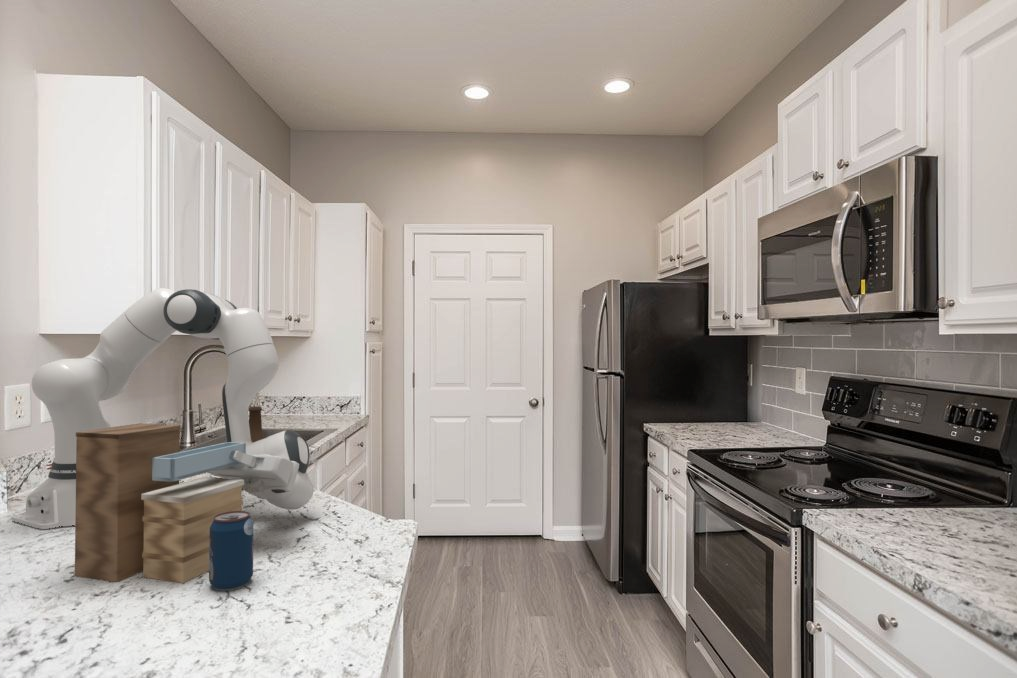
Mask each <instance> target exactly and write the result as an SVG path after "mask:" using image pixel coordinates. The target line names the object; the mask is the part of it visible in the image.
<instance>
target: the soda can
mask: <svg viewBox="0 0 1017 678" xmlns="http://www.w3.org/2000/svg"><path fill="white" fill-rule="evenodd" d="M250 515H251V514H250V512H249V511H245V510H242V511H230V512H225V513H221V514H218V515H216V516H214V518H213V519H214V520H213V522H212V524H211V526H210V538H209V571H208V582H209V584H210V585H211V587H212V588H213V589H214V590H215V591H221V592H226V591H235V590H238V589H242V588H243V587H245V586H247V585H248V584H249V582H250V581H251V579H252V577H253V575H254V521H253V519H252V517H251V516H250Z"/></svg>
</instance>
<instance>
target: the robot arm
mask: <svg viewBox="0 0 1017 678" xmlns="http://www.w3.org/2000/svg"><path fill="white" fill-rule="evenodd" d="M176 332H179V333H182V334H185V335H186V334H187V335H189V336H192V337H196V338H201V339H202V338H203V339H211V340H220V342H221V343H222V346H223V349H224V352H225V355H226V359H227V363H228V374H227V380H226V382H225V383H224V384H223V386H222V390H221V393H222V394H221V397H222V398H221V401H222V409H223V419H224V425H225V434H226V442H237V443H246V454H245V453H242V452H240V451H232V452H231V455H230V457H229V458H230V459H231V460H233V461H236V462H240V463H241V464H238V465H234V466H230V467H226V468H222V469H219V470H215V471H211V472H207V473H206V474H210V475H212V476H214V477H217V478H229V479H242V480H244V485H242V488H243V489H242V490H243V491H245V492H246V493H248V494H250V495H252V496H254V497H256V498H258V499H261V500H266V501H267V502H268V503H270V504H271V505H274V506H275V507H278V508H280V509H285V510H288V511H294V510H298V509H301V508H302V507H304V506H305V505H308V503H309V502H310V500H311V499H312V498H313V495H314V491H315V488H314V484H313V482H312V480H311V478H310V476H309V474H308V471H307V470H308V467H309V464H310V459H311V458H310V456H311V455H310V447H309V444H308V442H307V441H306V439H304V437H303V436H302V435H301V434H300V433H298V432H296V430H292V429H286V430H283V431H279V432H277V433H275V434H274V433H273V434H271V435H269V436H267V437H266V438H264V439H261V440H259V441H256V442H253V443H252V441H251V436H250V428H249V414H248V413H249V411H248V410H249V406H250V404H251V402H252V400H253V399H254V398H255V397H256V395H258V394H259V392H260V391H262V390H264V388H265V387H267V386H268V385H269V384H270V383H271V382H272V381H273V379H274V377H276V375H277V372H278V369H279V365H280V364H279V358H278V352H277V350H276V346H275V344H274V340H273V338H272V335H271V333H270V329H269V328H268V325H267V324H266V322H265V320H264V319H263V317H262V315H261V313H259V311H258V310H256V309H254V308H250V307H240V308H239V307H237V306H235V304H233V303H232V302H231V301H229V300H227V299H224V298H222V297H221V296H218V295H215V294H212V293H207V292H203V291H200V290H197V289H181V290H177V291H175V290H173V289H170V288H166V287H159V288H156V289H154V290H151V292H149V293H147V294H146V295H144V296H142V297H141V298H140V299H138V300H137V301H136V302H134V303H133V304H132V305H130V306H129V307H128V308H127V309H125V310H124V311H123V312H122V313H121V314H120V315H118V317H117V318H116V319H115V320H113V321H112V322H111V323H110V324H109V325H108V326H106V327H105V328H104V329H103V330H102V332H100V335H99V342H98V344H97V345H96V347H95V348H94V350H93V351H92V352H91V353H90V354H87V355H86V356H83V357H81V358H78V357H77V358H60V359H57V360H53V361H50V362H49V363H45V364H44V365H43V364H42V365H41V366H40V367H39V368H37V369H36V371H35V372H34V374H33V375H32V379H31V390H32V392H33V394H34V395H35V397H37V399H39V401H41V402H42V403H43V404H44V405H45V407H46V409H47V411H48V413H49V417H50V419H51V423H52V426H53V433H54V435H53V436H54V461H53V462H52V463H51V464H46V467H47V468H46V470H47V471H48V470H49V472H48V475H47V477H48V478H47V479H45V481H43V482H42V483H41V484H39V486H37V487H36V488H35V489H34V490H32V491H31V492H30V493H28V495H27V497H26V502H25V511H24V512H21V513H18V514H16V515H14V516H13V517H12V520H11V521H12V522H14V521H15V522H14V523H17V522H19V523H18V524H21V523H22V524H21V525H24V524H25V526H28V525H29V527H31V526H32V528H35V529H38V528H39V529H38V530H48V529H49V528H50V529H55V527H56V528H62V527H61V526H63V527H71V526H72V525H74V526H75V517H76V442H77V437H76V432H81V431H88V430H96V429H103V428H110V427H111V424H110V423H109V422H108V421H107V420H106V419H105V418H104V415H103V413H102V410H101V409H102V408H101V407H100V402H101V401H102V402H103V401H107V400H109V399H112V398H114V397H116V396H118V395H120V394H122V393H123V392H124V391H126V389H127V388H128V386H129V384H130V381H131V380H130V379H131V377H132V375H133V374H134V372H135V371H136V369H137V368H138V367H139V366H140V365H141V364H142V362H144V361H145V359H147V358H148V357H149V356H150V355H151V354H152V353H153V352H154V351H155V350H156V349H158V347H160V346H161V345H162V344H163V343H164V342H165V341H166V340H167V339H169V337H171V336H172V335H173V334H174V333H176ZM59 526H60V527H59ZM72 527H73V526H72ZM50 529H49V530H50Z"/></svg>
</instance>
